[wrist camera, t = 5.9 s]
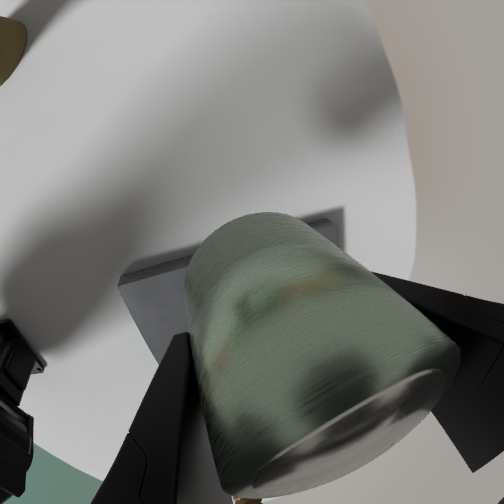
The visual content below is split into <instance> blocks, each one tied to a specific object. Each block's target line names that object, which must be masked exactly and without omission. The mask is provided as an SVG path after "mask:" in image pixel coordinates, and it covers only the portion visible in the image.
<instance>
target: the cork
mask: <svg viewBox="0 0 504 504" xmlns="http://www.w3.org/2000/svg"><path fill="white" fill-rule="evenodd" d="M26 43H27V31H26V28H25V25H23V24H22V23H21V22H19V21H15V20H12V19H9V18H5V17H1V16H0V86H1V85H2V84H3V83H4V82H5V81H6V80H7V79H8V78H9V77H10V75H11V74H12V72H13V71H14V70H15V68H16V67H17V65H18V63H19V61H20V59H21V57H22V55H23V53H24V49H25V46H26Z"/></svg>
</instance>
